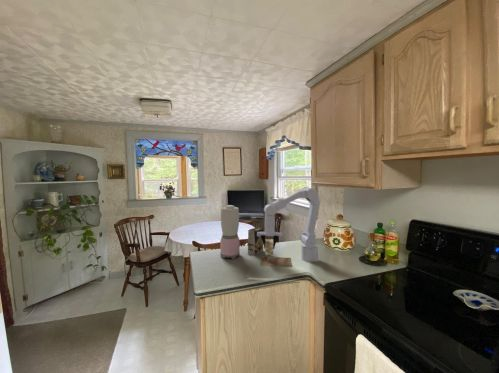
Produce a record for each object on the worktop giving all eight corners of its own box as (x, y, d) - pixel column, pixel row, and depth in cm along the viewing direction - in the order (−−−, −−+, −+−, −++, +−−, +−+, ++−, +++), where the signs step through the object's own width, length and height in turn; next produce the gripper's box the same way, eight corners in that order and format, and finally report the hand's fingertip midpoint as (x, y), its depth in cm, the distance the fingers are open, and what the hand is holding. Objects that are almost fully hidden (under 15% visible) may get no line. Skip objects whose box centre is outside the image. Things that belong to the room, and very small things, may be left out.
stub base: (290, 259, 135) (290, 253, 134) (292, 268, 122) (292, 261, 121) (261, 258, 136) (261, 251, 136) (260, 267, 124) (260, 260, 123)
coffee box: (255, 256, 139) (255, 231, 138) (247, 254, 143) (247, 229, 141) (263, 252, 146) (263, 228, 145) (255, 250, 150) (255, 226, 149)
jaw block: (273, 249, 133) (273, 239, 133) (273, 254, 124) (273, 244, 124) (265, 248, 134) (265, 239, 133) (265, 254, 125) (265, 244, 124)
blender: (237, 260, 133) (237, 207, 131) (218, 259, 135) (217, 207, 132) (241, 250, 149) (241, 203, 146) (223, 249, 150) (223, 203, 148)
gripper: (256, 226, 125) (256, 250, 126) (282, 227, 123) (282, 251, 124) (257, 223, 132) (257, 245, 133) (282, 224, 130) (281, 246, 131)
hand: (269, 248), depth 129 cm, fingers closed on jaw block, 4 cm apart
